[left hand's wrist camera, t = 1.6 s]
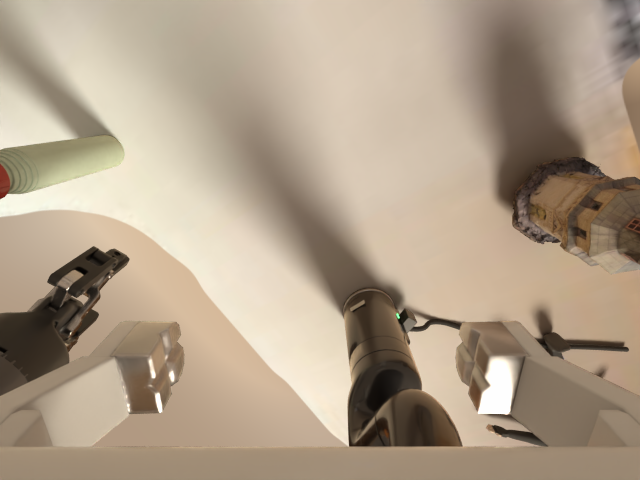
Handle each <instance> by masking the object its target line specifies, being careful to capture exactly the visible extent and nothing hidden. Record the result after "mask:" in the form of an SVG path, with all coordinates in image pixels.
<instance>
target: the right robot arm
mask: <svg viewBox="0 0 640 480" xmlns="http://www.w3.org/2000/svg"><path fill="white" fill-rule="evenodd" d="M128 261H129V258H128V257H127V255H125V254H123V253H121V252H120V251H118V250H116V249H111V250H109V251H108V252H106V253H104V252H102V251H101V250H99V249H98V248H96V247H94V246H93V247H92V248H90V249H89V250H87V251H86V252H84V253H83V254H81V255H79V256H78V257H77V258H75V259H73V260H72V261H70V262H69V263H67V264H66V265H64V266H63V267H61V268H60V269H58V270H57V271H55V272H54V273H52V274H51V275H50V277H49V279H48V281H47V282H48V283H49V284H51V285H53V286H55V287H54V288H53V289H52V290H51V291H50V292H49V293H48V294H47V295H46V297H45V298H43V299H39V300H38V301H37V302H36V303H35V304H34V305H33V306H32V307H31V308H30V309H29V310H28V312H20V313H0V396H1V395H4V394H6V393H8V392H10V391H12V390H14V389H16V388H18V387H20V386H22V385H24V384H26V383H29V382H31V381H33V380H35V379H37V378H39V377H41V376H43V375H45V374H47V373H49V372H51V371H54V370H56V369H58V368H60V367H62V366H64V365H66V364H68V363H69V354H68V352H69V351H70V349H71V348H72V347H73V345H75V344H76V343H77V340H78V338H79V336H80V335H81V334H82V333H83V332H84V331H85V330H86V329H87V328H88V327H89V326H90V325H92V324H93V323H94V322H95V321H96V319H97V318H98V316H99V314H98V313H97V312H96V311H94V310H92V307H93V306H94V305H95V304H96V303H97V301H98V300H99V299H100V290H101V288H102V287H103V286H104V285H105V284H106V282H107V281H108V280H109V279H111V278H112V277H113V276H114V275H115V274H116V273H117V272H119V271H120V270H121V269H122V268H124V267H125V266H126V265H127V263H128ZM92 285H93V286H92ZM82 294H83V295H85V296H87V297H88V298H89V299H88V300H87V302H86V303H85V304H84V305H83V304H82V303H81V302H80V301H78V300H76V299H74V298H73V297H71V296H74V297H76V298H77V297H79V296H80V295H82ZM343 316H344V320H345V330H346V339H347V348H348V357H349V365H350V373H351V382H352V385H351V389H350V392H349V396H348V435H349V447H463V446H462V442H461V439H460V436H459V433H458V431H457V429H456V427H455V425H454V422H453V421H452V419H451V418H450V416H449V414H448V413H447V411H446V410H445V409H444V408H443V406H442V405H441V404H440V403H439V402H438V401H437V400H436V399H435V398H433V397H432V396H431V395H429V394H428V393H426V392H424V391H422V382H421V378H420V375H419V372H418V369H417V367H416V364H415V361H414V358H413V356H412V353H411V351H410V348H409V344H410V340H409V337H408V334H407V333H408V332H409V331H416V332H417V331H424V330H426V329H427V328H428V327H429V326H430V325H433V324H441V325H446V326H450V327H453V328H456V329H459V330H460V327H461V326H460V325H457V324H454V323H451V322H448V321H444V320H429V321H427V322H426V323H425V324H424V325H423V326H420V327H414V325H415V324H416V323H417V321H416V319H415V317H414V314H413V313H411V312H410V311H408V310H407V309H404V310H403V311H402V312H401V314H399V311H398V310H397V309H396V308H395V306H394V303H393V300H392V299H391V297H390V296H389V295H388V294H387V293H385V292H384V291H382V290H380V289H376V288H364V289H360V290H358V291H356V292H354V293H353V294H351V295H350V296H349V297H348V299H347V300H346V302H345V304H344V307H343ZM539 344H540V345H541V346H542V347H543V348H548V347H547V344H543V343H539ZM570 347H571V349H588V350H607V351H625V352H628V351H629V349H628V347H615V346H598V345H570Z"/></svg>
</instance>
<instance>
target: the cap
mask: <svg viewBox="0 0 640 480" xmlns="http://www.w3.org/2000/svg"><path fill="white" fill-rule="evenodd" d="M9 189H10V179H9V176H8V173H7V171H6V170H5V168H4V167H3V166H2V165H1V164H0V199H1V198H3V197H5V196H6V195H7V193H8V192H9Z"/></svg>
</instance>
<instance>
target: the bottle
mask: <svg viewBox="0 0 640 480" xmlns="http://www.w3.org/2000/svg"><path fill="white" fill-rule="evenodd" d="M123 159H124V150H123V147H122V145H121V144H120V142H119V141H118V140H117V139H115V138H114V137H112V136H109V135H100V136H93V137H86V138H78V139H71V140H63V141H56V142H49V143H41V144H34V145H26V146H19V147H12V148H5V149H2V150H0V164H1V165H2V166H3V167H4V168H5V170H6V171H7V173H8V176H9V179H10V189H9V192H8V193H7V194H22V193H28V192H32V191H35V190H38V189H42V188H45V187H48V186H52V185H55V184H59V183H62V182H65V181H69V180H72V179H75V178H79V177H82V176H85V175H89V174H92V173H96V172H99V171H102V170H106V169H109V168H112V167H116V166H118V165H119V164H121V163H122V161H123Z"/></svg>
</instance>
